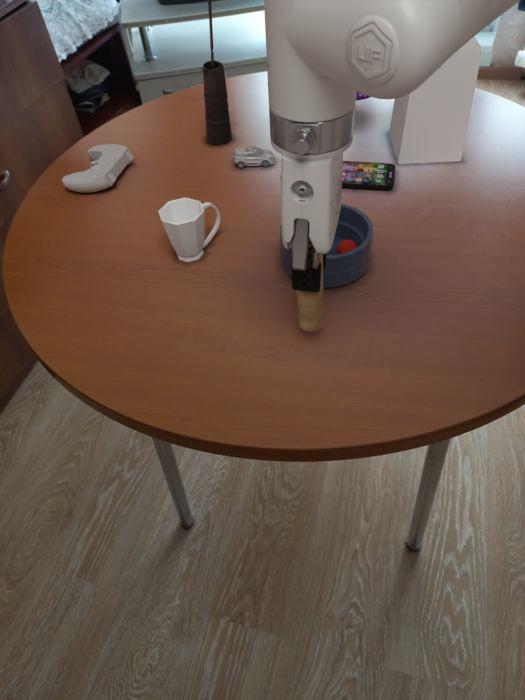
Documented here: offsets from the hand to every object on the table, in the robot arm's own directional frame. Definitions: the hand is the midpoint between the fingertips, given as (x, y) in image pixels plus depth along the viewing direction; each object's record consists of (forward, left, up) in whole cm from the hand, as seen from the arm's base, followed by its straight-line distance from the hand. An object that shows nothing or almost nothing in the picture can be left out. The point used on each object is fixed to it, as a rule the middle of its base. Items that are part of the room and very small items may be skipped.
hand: (309, 277), depth 60 cm
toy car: (-6, -47, -12) cm, 49 cm away
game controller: (+23, -53, -12) cm, 59 cm away
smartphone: (-21, -35, -12) cm, 42 cm away
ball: (-11, -14, -9) cm, 20 cm away
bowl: (-8, -15, -12) cm, 20 cm away
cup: (+10, -25, -12) cm, 29 cm away
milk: (-38, -40, -12) cm, 56 cm away
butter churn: (-1, -58, -12) cm, 59 cm away
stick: (0, 0, -8) cm, 8 cm away
